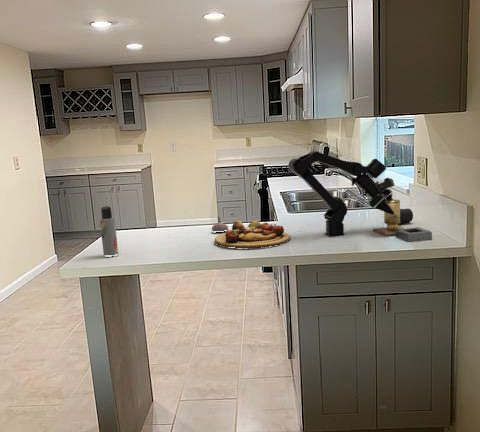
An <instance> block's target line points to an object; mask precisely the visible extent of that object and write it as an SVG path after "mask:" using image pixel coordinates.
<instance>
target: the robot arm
mask: <svg viewBox="0 0 480 432" xmlns="http://www.w3.org/2000/svg"><path fill="white" fill-rule="evenodd" d="M316 162H317V163H321V164H323V165H326V166H329V167H332V168H335V169H338V170H340V171H342V172H343V173H345V174H347V175H348V176H353V177H354V178H351V179H350V182H351V186H352V187H353V186H355V185H358V186H359V187H360V189H362V191H364V194H365V195H368V197H370V198H371V199H370V200H369V206H370V207H371V208H373V209H375V210H376V209H377V210H379V211H382V212H383V213H384V212H387V213H389V214H392V215H393V214H394V212H393V210H392V209H391V208H390V206H389V205H388V204H387V202H386V200H394V199H393V191H392V190H391V189H390V188H392V187H394V186H395V183H394V180H393V178H391V177H386V178H384V179H383V182H380V183H379V182H378V181H374V180H373V179H378V178H379V177H380V176H381V175H382V174H383V173H384V172H385V171H386V170H387V167H386V166H385V164H384V163H382V162H381V161H380V160H378V159H377V158H373V159H372V160H371V162H369V163H368V164H367V165H363V164H362V163H360V162H356V161H349V160H342V159H340V158H337V157H334V156H331V155H328V154H325V153H321V152H320V151H317V150H311V151H310V152H308V153H306V154H304V155H302V156H300V157H297V158H292V159H291V160H290V161H288V164H287V165H288V166H287V167H288V169H289V172H290V171H291V172H292V173H293V174H295V176H297V177H299V178H300V179H302V180H303V181H304V182H305V183H306V184H307V186H309V188H311V190H313V192H314V193H315V194H316V195H317V196H318V197H319V198H320V199H321V201H323V203H324V205H325V207H326V209H327V211H326V212H325V213H324V214H323V217H324V220H325V231H326V232H324V234H325V235H326V236H328V237H337V236H338V237H340V236H344V235H345V233H344V230H345V229H344V228H345V227H344V225H345V224H344V223H343V222H344V220H345V216H346V215H348V207H347V205H348V204H347V203H345V202H344V201H343V199H342V198H341V197H338V196H333V195H332V194H331V193H330V192H329V191H328V190H327V188H326V187H324V185H323V184H322V183H321V182H320V181H319V179H317V177H316V176H314V174H312V172H311V170H310V167H311V166H313V164H314V163H316Z"/></svg>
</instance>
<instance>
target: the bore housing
mask: <svg viewBox="0 0 480 432" xmlns="http://www.w3.org/2000/svg"><path fill="white" fill-rule="evenodd" d="M394 237H395V238H398V240H399V239H400V240H402V241H403V242H407V243H413V242H419V241H420V242H421V241H430V240H433V232H432V231H430V230H428V229H425V228H421V227H418V226H415V227H409V228H408V227H407V228H405V229H397V230H395V236H394Z"/></svg>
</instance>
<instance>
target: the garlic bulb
mask: <svg viewBox="0 0 480 432" xmlns="http://www.w3.org/2000/svg"><path fill="white" fill-rule="evenodd" d="M224 230H229V227H228V225H227V224H225V223H223V222H222V220H221V218H220V215H218V216H217V223H215V224H213V225H212V226H211V231H212V232H213V231H224Z"/></svg>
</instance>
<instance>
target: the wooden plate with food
mask: <svg viewBox="0 0 480 432" xmlns="http://www.w3.org/2000/svg"><path fill="white" fill-rule="evenodd" d="M287 241H288V242H290V241H291V236H290V234H289V233H288V232H285V229H284V226H283V225H276V224H275V223H273V224H269V223H268V222H265V221H264V222H263V223H261V222H260V221H258V220H256V219H254V220H252V221H251V222H250V223H249V224H248V226H247V227H245V225H244V224H243V222H241V220H240V221H239V220H238V219H237V220H235V221H234V222H233V223H232V226H231V229H228V230H227V231H226V232H223V233H221V234H218V235H216V236H215V238H214V243H215V244H216V245H217V244H218V245H217V246H219V245H221V246H225V247H235V248H261V247H269V246H275V245H279V246H281V245H280V244H283V243H285V242H287ZM288 242H287V243H288ZM285 244H286V243H285ZM283 245H284V244H283ZM221 246H220V247H221ZM225 247H224V248H225ZM275 247H276V246H275Z"/></svg>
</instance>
